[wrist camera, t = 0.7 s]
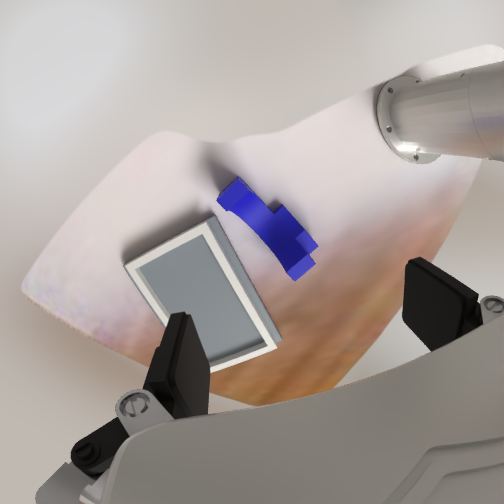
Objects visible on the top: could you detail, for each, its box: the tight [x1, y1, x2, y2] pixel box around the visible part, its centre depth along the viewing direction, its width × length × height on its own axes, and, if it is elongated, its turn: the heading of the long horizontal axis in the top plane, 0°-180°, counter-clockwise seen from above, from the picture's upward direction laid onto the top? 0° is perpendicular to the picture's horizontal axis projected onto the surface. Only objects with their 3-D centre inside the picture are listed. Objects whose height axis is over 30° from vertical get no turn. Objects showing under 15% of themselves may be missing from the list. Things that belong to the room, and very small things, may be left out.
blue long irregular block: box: [216, 176, 318, 281], centre depth 30 cm, size 12×4×6 cm, turn 43°
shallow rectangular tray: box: [123, 215, 282, 373], centre depth 35 cm, size 14×20×2 cm
